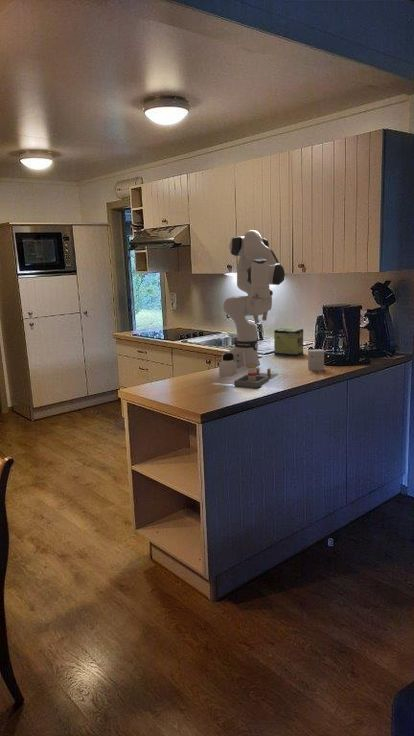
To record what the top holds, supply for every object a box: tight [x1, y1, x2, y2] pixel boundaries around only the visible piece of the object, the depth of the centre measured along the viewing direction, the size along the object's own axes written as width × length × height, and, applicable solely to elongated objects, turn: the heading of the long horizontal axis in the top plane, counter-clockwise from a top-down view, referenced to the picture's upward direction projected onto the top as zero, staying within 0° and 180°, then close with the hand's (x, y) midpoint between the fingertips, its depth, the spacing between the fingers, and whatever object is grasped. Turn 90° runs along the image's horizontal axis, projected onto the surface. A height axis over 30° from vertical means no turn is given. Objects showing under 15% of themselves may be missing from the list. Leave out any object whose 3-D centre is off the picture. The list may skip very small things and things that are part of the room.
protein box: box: [273, 327, 304, 357], centre depth 324 cm, size 10×16×16 cm
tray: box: [234, 374, 269, 390], centre depth 253 cm, size 12×14×3 cm
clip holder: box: [256, 367, 279, 380], centre depth 265 cm, size 12×12×5 cm
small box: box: [307, 348, 325, 371], centre depth 280 cm, size 8×6×10 cm
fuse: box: [246, 364, 257, 382], centre depth 252 cm, size 4×4×9 cm
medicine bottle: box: [218, 352, 238, 378], centre depth 272 cm, size 7×7×12 cm
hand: (260, 321), depth 255 cm, fingers open, 8 cm apart
